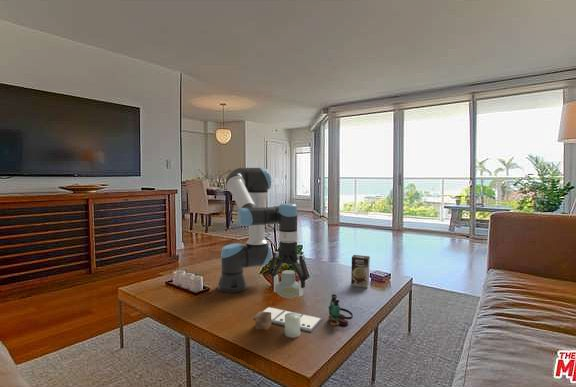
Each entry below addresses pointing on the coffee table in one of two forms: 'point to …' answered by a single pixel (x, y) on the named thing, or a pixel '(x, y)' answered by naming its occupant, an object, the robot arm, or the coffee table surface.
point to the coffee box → (360, 271)
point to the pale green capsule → (292, 325)
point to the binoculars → (337, 312)
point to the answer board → (278, 315)
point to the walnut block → (263, 320)
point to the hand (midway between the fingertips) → (288, 293)
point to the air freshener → (287, 285)
